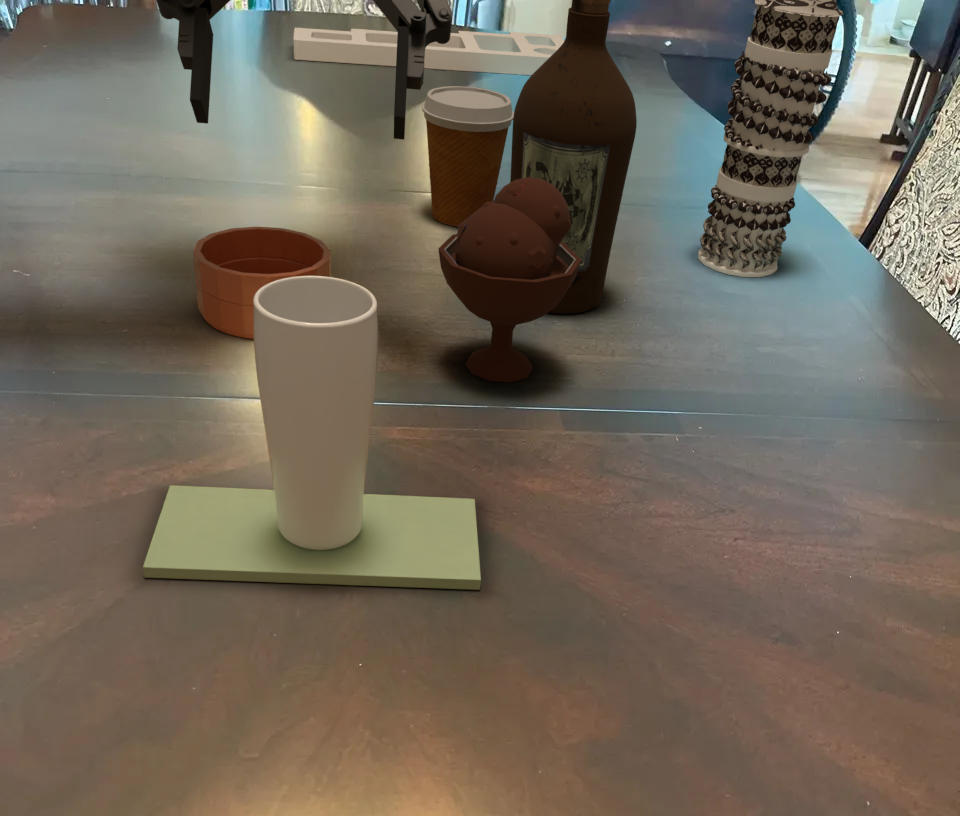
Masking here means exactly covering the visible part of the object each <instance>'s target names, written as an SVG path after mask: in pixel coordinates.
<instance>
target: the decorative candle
mask: <svg viewBox="0 0 960 816" xmlns="http://www.w3.org/2000/svg"><path fill="white" fill-rule="evenodd" d="M754 4H755V5H756V12H755V15H754V18H753V23H752V30H751V33H750V35H749V36H748V37H747V41H746V44H745V45H746V46H745V51H744V50H741V54H740V56H739V57H738V59H737V60H735V62H734V71H735V73H736V74H737V75H738V76H739V78H736V79H735V80H734V81H733V84H732V85H731V86H730V91H731V93H732V94H731V95H732V98H731V100H729V101H728V102H727V108H728V109H727V113H728V114H729V115H730V116H731V117H732V118H729V119H728V120H727V122H726V123H725V124H724V126H723V131H724V132H723V133H724V134H723V141H724V142H725V143H726V146H725V150H724V155H723V161H722V163H721V166H720V167H719V168H718V173H717V178H716V184H715V186H713V187H711V189H710V196H711V198H712V199H713V200H712V201H711V202H709V203H708V204H707V213H708V214H709V215H710V216H708V217H707V218H705V220H704V221H703V225H702V226H703V231H704V233H702V234H701V236H700V238H699V243H700V246H701V248H699V250H698V254H697V260H698V261H699V262H701V263H702V265H704V266H705V267H707V268H709V269H711V270H713V271H715V272H719V273H721V274H726V275H729V276H734V277H742V278H762V277H767V276H771V275H773V274H774V273H776V272H777V270H778V260H779V258H780V257H781V256H783V251H782V248H783V247H782V246H783V243H785V242H786V241H787V236H786V234H787V231H786V230H785V228H786V227H787V226H788V225H789V224H790V223H791V221H792V218H791V214H790V212H791V211H792V209H793V210H794V208H795V207H796V201H795V197H794V196H795V192H796V189H797V186H798V179H797V177H798V174H799V172H800V167H801V163H802V159H803V156H804V155H805V156H806V154H808V153H809V152H810V145H809V143H812V142H813V141H814V140H815V136H814V134H813V133H812V132H811V130H810V128H811V127H814V126H816V125H818V123H819V121H820V118H819V117H818V116H817V115H816V112H815V111H814V109H815V107H816V106H819V105H820V104H823V103H824V102H825V103H826V101H827V98H828V97H827V94H825V93H824V92H823V90H821V89H823V88H824V87H825V86H828V85H829V84H831V82H832V76H831V75H830V74H829V72H828V70H826V69H828V68H829V66H830V62H831V57H832V54H833V49H832V46H833V41H834V38H835V35H836V32H837V26H838V23H839V21H840V17H841V16H844V15H845V14H844V12H843V10H840V9H839V8H838V2H837V0H754ZM825 70H826V71H825ZM824 71H825V72H824Z"/></svg>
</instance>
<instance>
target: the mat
mask: <svg viewBox="0 0 960 816" xmlns="http://www.w3.org/2000/svg"><path fill="white" fill-rule="evenodd" d="M477 524H478V522H477V510H476V500H475V498H468V497H467V498H463V497H442V496H441V497H440V496H420V495H419V496H418V495H397V494H378V493H377V494H375V493H364V499H363V524H362V528H361V531H360V532H359V534H358V535H357V537H356V538H355V539H354V540H352V541H351V542H350V543H348V544H346V545H344V546H341V547H338V548H334V549H329V550H311V549H306V548H302V547H299V546H296V545H294V544H292V543H290V542H289V541H288V540H286V539H285V538H284V537H283V536H282V534H281V533H280V531H279V529H278V526H277V522H276V505H275V495H274V489H263V488H244V487H243V488H240V487H218V486H217V487H216V486H197V485H195V486H194V485H173V484H170V485H169V486H168V490H167V493H166V496H165V499H164V502H163V505H162V509H161V511H160V514H159V517H158V520H157V523H156V526H155V529H154V532H153V535H152V538H151V542H150V544H149V546H148V547H149V548H148V550H147V554H146V557H145V559H144V562H143V565H142V571H143V577H144V578H148V579H173V580H174V579H175V580H178V579H179V580H200V581H201V580H202V581H203V580H204V581H228V582H256V583H257V582H259V583H283V584H284V583H285V584H307V585H308V584H309V585H310V584H311V585H312V584H313V585H334V586H335V585H336V586H337V585H339V586H365V587H390V588H391V587H392V588H420V589H422V588H424V589H444V590H473V591H480V590H481V584H482V575H481V562H480V549H479V537H478V535H479V534H478V525H477Z"/></svg>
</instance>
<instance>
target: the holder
mask: <svg viewBox="0 0 960 816" xmlns="http://www.w3.org/2000/svg"><path fill="white" fill-rule="evenodd" d="M457 32H458V33H457ZM457 32H451V35H450V40H449V41H448V42H447V43H446V44H439V43H437V42H432V43H430V44H428V45H427V47H426V48H425V57H424V69H429V70H430V69H431V70H446V71H462V72H473V73H474V72H476V73H489V74H503V75H506V74H507V75H518V76H519V75H520V76H531V75H532V74H533V73H534V72H535V71H536V70H537V69H538V68H539V67H540V66H541V65H542V64H543V63H544V62H545V61H546V60H547V59H549V58H550V57H551V56H552V55H553V54H554V53H555V52H556V51H557V50H558V49H559V48H560V46H561V45H562V44H563V43H564V41H565V39H564V37H563V36H562V35H561V34H560V35H559V34H549V33H548V34H547V33H532V32H521V31H520V32H518V31H509V33H497V32H495V33H494V32H483V31H468V30H467V31H466V30H458V31H457ZM397 35H398V32H397V31H390V30H376V29H364V28H350V30H335V29H323V28H321V29H320V28H310V27H309V28H306V27H294V30H293V41H292V42H293V60H296V61H297V60H298V61H308V62H309V61H311V62H327V63H340V64H354V65H370V66H384V67H385V66H386V67H396V58H397Z"/></svg>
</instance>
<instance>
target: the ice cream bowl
mask: <svg viewBox="0 0 960 816" xmlns="http://www.w3.org/2000/svg"><path fill="white" fill-rule="evenodd" d="M571 226H572V225H571V220H570V214H569V209H568V204H567V203H566V201H565V199H564V197H563V195H562V193H561V192H560V191H559V190H558V189H557V188H556V187H554V186H553V185H552V184H550V183H548V182H546V181H544V180H542V179H539V178H532V177H526V178H521V179H516V180H514V181H512V182H511V183H510V182H509V183H507V184H506V185H504V186H503V187H502V188H501V189H500V190H499V191H498V193H497V194H495V196H494V200H493V202H486V203H485V204H483V206H482V207H481V208H480V209H478V210H477V211H476V212H474V213H473V214H472V215H470V216H469V217H468V218H466V219H465V220H464V221H463V222H461V223H460V224H459V225H458V226H457V233H454V234H451V236H449V237H448V238H447V239H446V241H444V242H443V243H442V244H441V246H439V247H438V249H437V250H438V256H439V264H440V269H441V271H442V272H441V273H442V275H443V277H444V280H445V281H446V284H447V285H448V287H449V288H450V289H451V291H452V292H453V293H454V294H455V296H456V297H457V299H458V300H459V301H460V302H461V303H462V305H463V306H464V307H465V308H466V309H467V311H469V312H470V313H471V314H473V315H475V316H476V317H477V318H479V319H481V320H484V321H487V322H489V323H490V326H491V338H490V344H489V345H487V346H484V347H481V348H479V349H475V350H473V352H472V353H471V354H470V356H468V358H467V360H466V363H465V366H466V368H467V369H468V370H469V372H470V373H471V375H473V376H475V377H478V378H480V379H483V380H486V381H489V382H496V383H497V382H499V383H513V382H517V381H520V380H525V379H527V378H528V377H529V375H530V374H531V372H532V370H533V366H532V362H531V361H530V360H529V359H528V357H527V356H526V355H525V354H524V353H523V352H521V351H519V350H517V349H515V348H514V347H513V337H514V336H513V335H514V330H515V328H516V326H517V325H522V324H527V323H531V322H532V321H535V320H538V319H540V318H542V317H545V316H546V315H547V314H549V313H548V312H550V311H551V310H552V309H553V308H555V307H556V306H557V305H558V304H559V302H560V301H561V299H562V298H563V296H564V295H565V293H566V292H567V290H568V289H569V287H570V286H571V284H572V282H573V281H574V279H575V277H576V274H577V271H578V268H579V266H580V263H581V259H580V258H579V257H578V256H577V255H576V254H575V253H574V252H573V251H572V250H571V249H570V248H569V247H568V246H567V245H566V244H565V243H562V242H561V241H562V240H563V238H564V237H565V235H566V234H567V232H568V230H569V229H570V227H571Z"/></svg>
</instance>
